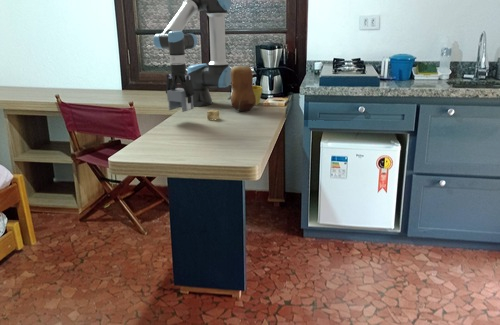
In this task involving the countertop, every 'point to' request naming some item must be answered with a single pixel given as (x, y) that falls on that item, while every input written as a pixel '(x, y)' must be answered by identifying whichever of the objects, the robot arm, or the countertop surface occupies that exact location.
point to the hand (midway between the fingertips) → (181, 108)
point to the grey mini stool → (178, 99)
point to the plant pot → (257, 93)
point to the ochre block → (213, 114)
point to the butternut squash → (242, 88)
